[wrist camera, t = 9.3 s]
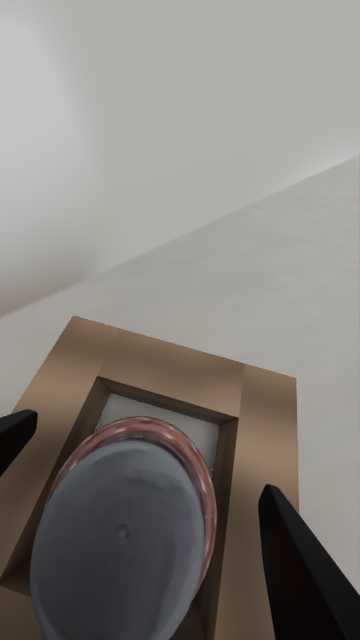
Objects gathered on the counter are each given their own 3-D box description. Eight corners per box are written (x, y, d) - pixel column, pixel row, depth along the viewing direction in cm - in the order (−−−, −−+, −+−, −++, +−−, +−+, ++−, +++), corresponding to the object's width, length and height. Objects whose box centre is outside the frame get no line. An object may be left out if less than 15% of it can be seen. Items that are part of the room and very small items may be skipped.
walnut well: (250, 734, 10) (307, 906, 6) (-58, 615, 11) (-172, 701, 7) (267, 393, 18) (296, 378, 15) (90, 342, 19) (73, 315, 16)
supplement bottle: (101, 435, 16) (16, 408, 6) (183, 426, 17) (219, 389, 7) (94, 550, 13) (-95, 846, 3) (194, 532, 14) (286, 723, 4)
